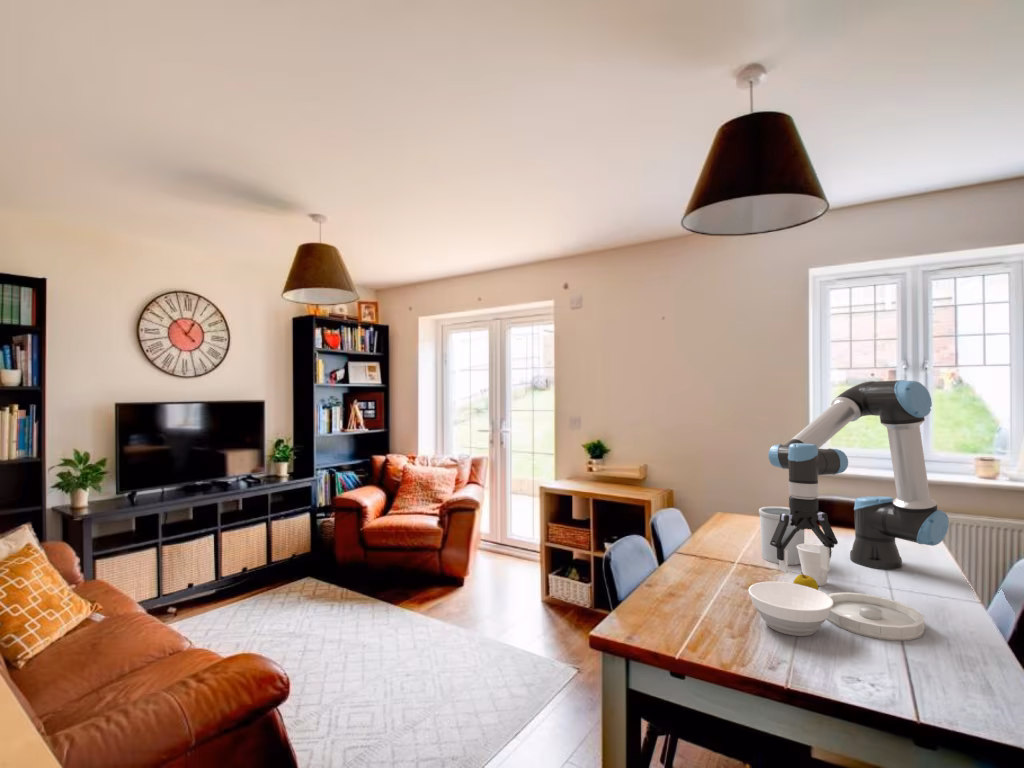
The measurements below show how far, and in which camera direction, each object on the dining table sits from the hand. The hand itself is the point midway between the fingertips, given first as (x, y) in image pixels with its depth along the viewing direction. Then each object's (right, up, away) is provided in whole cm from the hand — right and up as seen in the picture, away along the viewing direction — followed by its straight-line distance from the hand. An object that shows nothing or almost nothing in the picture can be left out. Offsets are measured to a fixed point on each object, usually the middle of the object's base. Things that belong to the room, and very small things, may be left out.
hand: (804, 570), depth 151 cm
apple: (0, -9, 0) cm, 9 cm away
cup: (+11, -9, +14) cm, 20 cm away
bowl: (-13, -9, -17) cm, 23 cm away
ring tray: (+10, -9, -14) cm, 19 cm away
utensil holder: (+13, -10, +38) cm, 41 cm away
